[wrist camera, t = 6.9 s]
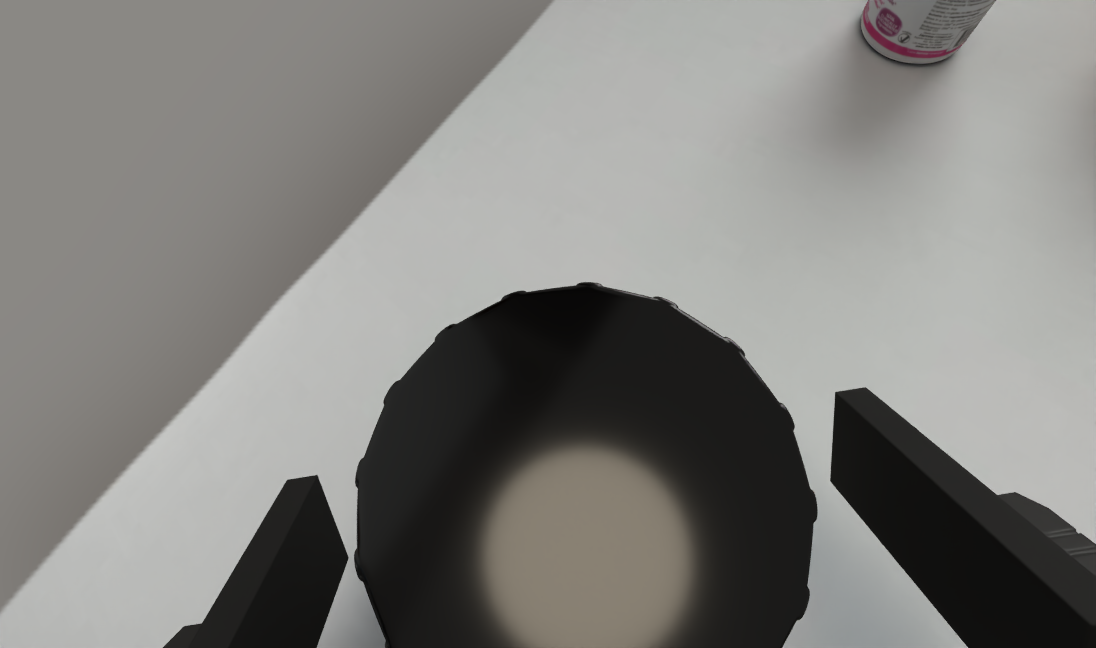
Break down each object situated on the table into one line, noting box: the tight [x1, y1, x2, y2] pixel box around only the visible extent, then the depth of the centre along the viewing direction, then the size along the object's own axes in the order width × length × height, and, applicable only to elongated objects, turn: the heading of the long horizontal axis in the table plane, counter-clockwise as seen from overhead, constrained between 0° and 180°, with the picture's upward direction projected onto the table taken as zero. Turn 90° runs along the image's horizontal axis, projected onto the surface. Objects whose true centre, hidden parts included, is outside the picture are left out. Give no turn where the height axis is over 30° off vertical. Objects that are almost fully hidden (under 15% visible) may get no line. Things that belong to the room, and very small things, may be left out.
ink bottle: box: [354, 282, 817, 648], centre depth 14 cm, size 10×9×12 cm
